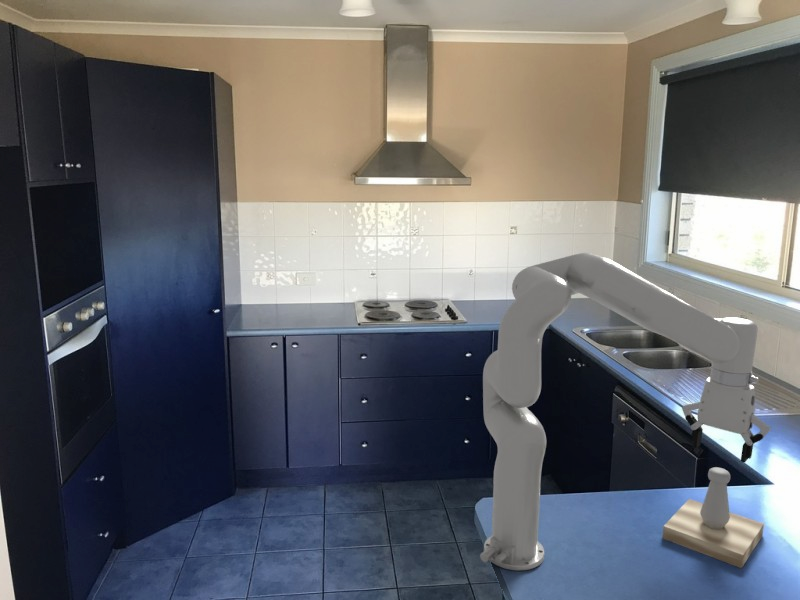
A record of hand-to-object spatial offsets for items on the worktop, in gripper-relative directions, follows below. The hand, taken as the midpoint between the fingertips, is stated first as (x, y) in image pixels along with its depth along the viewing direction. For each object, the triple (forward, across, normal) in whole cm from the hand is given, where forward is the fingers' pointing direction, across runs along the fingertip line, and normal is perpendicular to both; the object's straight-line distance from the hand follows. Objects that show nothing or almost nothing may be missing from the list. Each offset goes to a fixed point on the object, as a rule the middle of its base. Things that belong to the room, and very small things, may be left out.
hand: (719, 453), depth 139 cm
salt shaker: (+17, 0, -1) cm, 17 cm away
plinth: (+20, -1, -1) cm, 20 cm away
